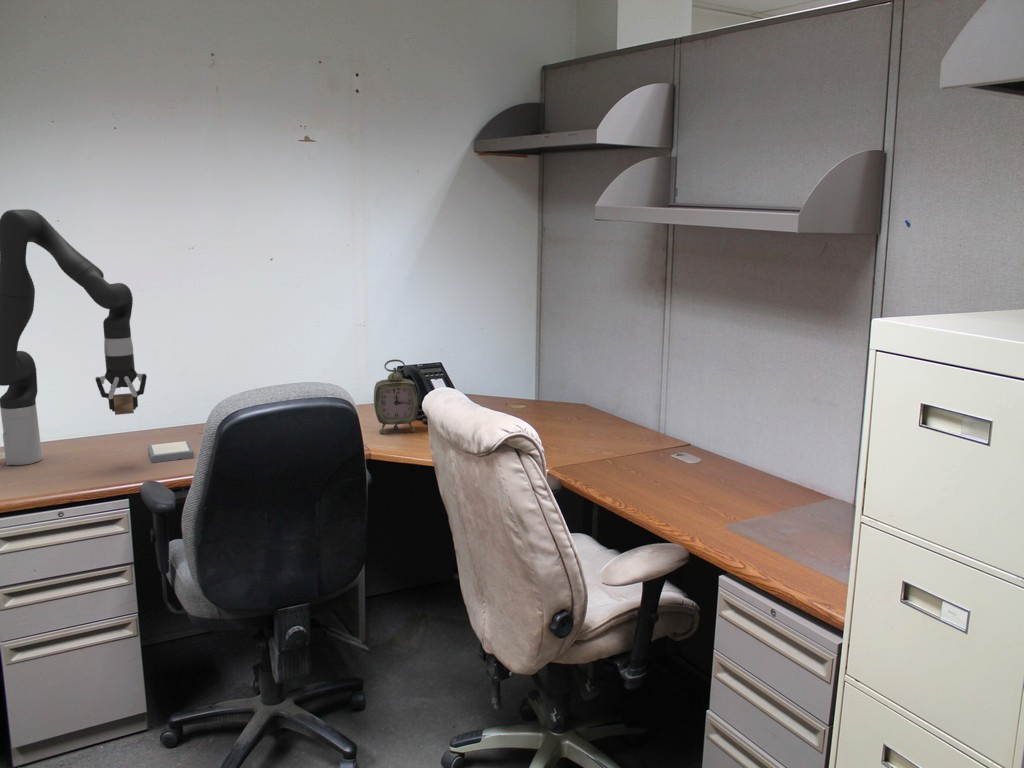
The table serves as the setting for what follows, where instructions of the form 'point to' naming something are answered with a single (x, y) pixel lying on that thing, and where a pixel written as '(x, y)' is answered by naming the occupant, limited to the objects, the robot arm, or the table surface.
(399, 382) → the tabletop clock
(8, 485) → the table surface
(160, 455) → the board
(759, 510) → the table surface
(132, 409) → the cube
